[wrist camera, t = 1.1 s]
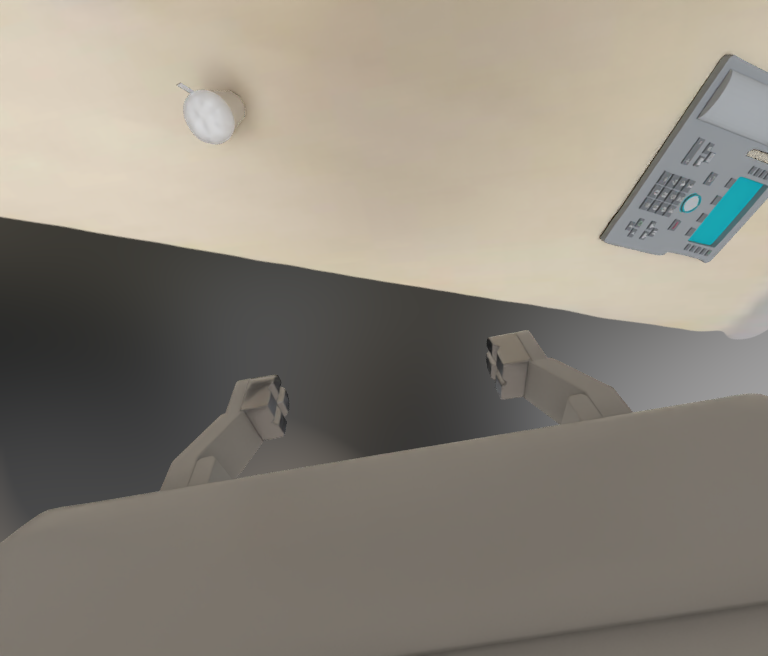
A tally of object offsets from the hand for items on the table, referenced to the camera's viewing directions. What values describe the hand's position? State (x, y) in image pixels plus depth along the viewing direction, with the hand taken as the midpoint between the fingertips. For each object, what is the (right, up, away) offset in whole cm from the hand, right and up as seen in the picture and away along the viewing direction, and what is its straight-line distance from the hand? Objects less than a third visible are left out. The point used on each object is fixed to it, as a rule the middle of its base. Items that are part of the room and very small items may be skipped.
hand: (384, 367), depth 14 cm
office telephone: (+45, +23, +36) cm, 62 cm away
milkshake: (-18, +27, +26) cm, 42 cm away
